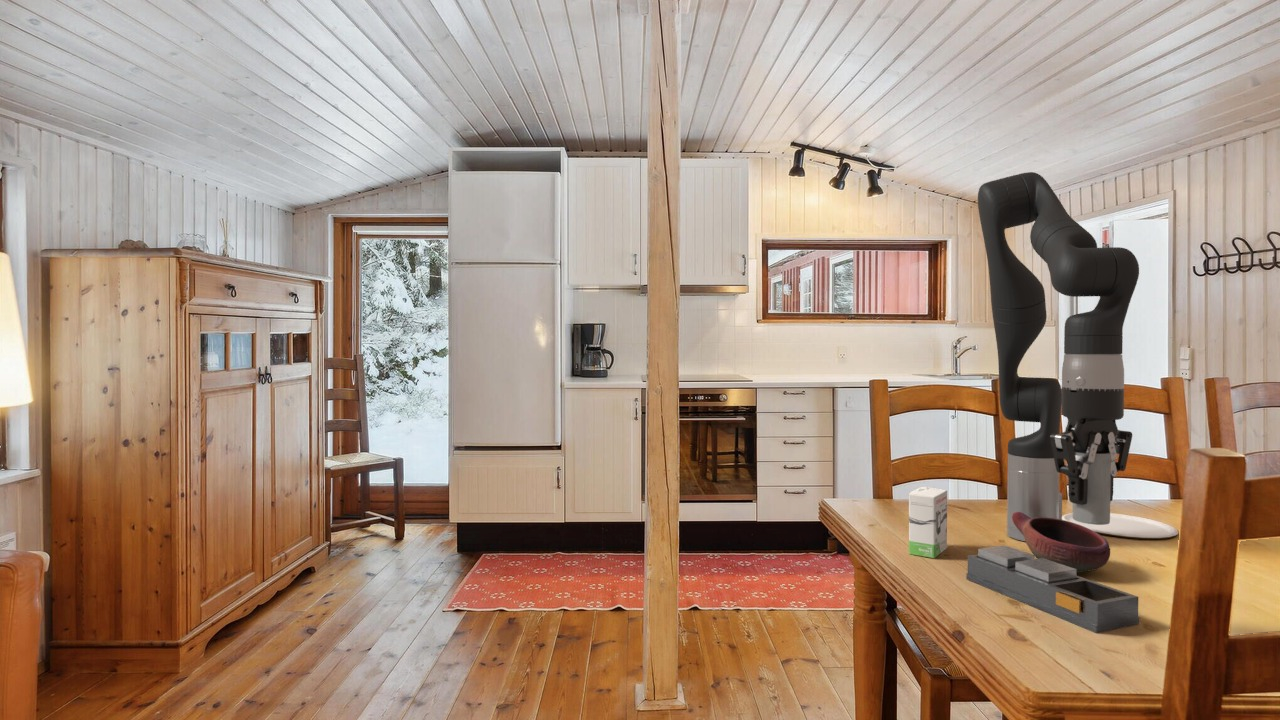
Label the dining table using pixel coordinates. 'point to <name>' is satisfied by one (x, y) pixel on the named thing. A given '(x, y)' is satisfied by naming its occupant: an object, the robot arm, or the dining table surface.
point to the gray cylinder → (1096, 492)
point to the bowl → (1063, 542)
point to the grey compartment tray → (1052, 589)
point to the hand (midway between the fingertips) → (1090, 501)
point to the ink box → (927, 521)
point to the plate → (1129, 527)
